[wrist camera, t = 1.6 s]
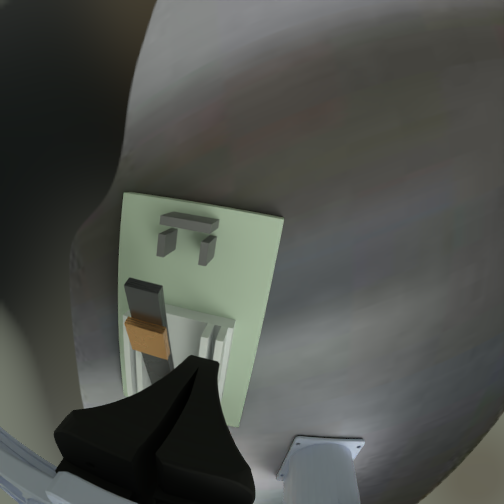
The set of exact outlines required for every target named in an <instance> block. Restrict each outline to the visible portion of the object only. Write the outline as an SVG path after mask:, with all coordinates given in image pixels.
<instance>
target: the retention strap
mask: <svg viewBox="0 0 504 504" xmlns="http://www.w3.org/2000/svg"><path fill="white" fill-rule="evenodd" d="M124 288H125V293H126V297H127V302H128V306H129V310H130V314H131V317H129V316H128V317H127V319H126V321H125V323H124V324H125V327H126V331H127V334H128V337H129V340H130V343H131V347H132V349H133V350H136V351H139V352H141V353H142V357H143V360H144V363H145V366H146V369H147V372H148V375H149V378H150V381H151V384H154V383H155V382H157V381H158V380H160V379H161V378H163V377H164V376H165V375H167V374H168V373H169V372H171V371H172V370H173V369H174V364H173V358H172V352H171V345H170V339H169V332H168V325H167V317H166V309H165V301H164V292H163V286H162V285H158V284H154V283H150V282H146V281H142V280H138V279H134V278H130V277H129V278H128V280H127V281H126V283H125V284H124Z"/></svg>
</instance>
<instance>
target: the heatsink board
mask: <svg viewBox="0 0 504 504" xmlns="http://www.w3.org/2000/svg"><path fill="white" fill-rule="evenodd" d="M283 222H284V217H279V216H273V215H268V214H263V213H258V212H252V211H247V210H241V209H235V208H230V207H224V206H218V205H212V204H206V203H200V202H194V201H188V200H182V199H175V198H169V197H162V196H156V195H149V194H142V193H135V192H126V193H124V195H123V204H122V215H121V227H120V242H119V264H118V324H119V345H120V360H121V372H122V382H123V391H124V396H127V397H129V396H131V395H134V394H136V393H138V392H140V391H142V390H144V389H145V388H147V387H149V386H150V385H152V384H151V381H150V378H149V375H148V372H147V369H146V366H145V363H144V360H143V357H142V353H141V352H139V351H136V350H133V349H132V347H131V343H130V340H129V337H128V334H127V331H126V327H125V324H124V323H125V321H126V319H127V317H128V316H129V317H131V314H130V310H129V306H128V302H127V297H126V293H125V288H124V284H125V283H126V281H127V280H128V278H129V277H130V278H134V279H138V280H142V281H146V282H150V283H154V284H158V285H162V286H163V292H164V301H165V309H166V317H167V325H168V332H169V339H170V345H171V352H172V358H173V364H174V369H175V368H176V367H177V366H178V365H179V364H180V363H182V362H183V361H184V360H185V359H186V358H187V357H188V356H190V355H194V356H198V357H202V358H206V359H210V360H214V361H218V362H219V364H220V365H219V371H218V390H219V398H220V403H221V407H222V411H223V415H224V418H225V421H226V424H227V425H228V426H233V427H238V428H239V424H240V419H241V415H242V411H243V407H244V403H245V399H246V394H247V390H248V386H249V382H250V377H251V373H252V369H253V364H254V360H255V355H256V351H257V346H258V342H259V337H260V333H261V328H262V324H263V319H264V315H265V310H266V305H267V301H268V296H269V291H270V286H271V282H272V277H273V272H274V267H275V262H276V257H277V252H278V247H279V242H280V237H281V232H282V227H283Z"/></svg>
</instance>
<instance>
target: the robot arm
mask: <svg viewBox="0 0 504 504" xmlns="http://www.w3.org/2000/svg"><path fill="white" fill-rule="evenodd" d="M219 365H220V364H219V362H218V361H214V360H210V359H206V358H202V357H198V356H194V355H190V356H188V357H187V358H186V359H185V360H184V361H183V362H182V363H180V364H179V365H178V366H177V367H176V368H175V369H173V370H172V371H171V372H169V373H168V374H167V375H165V376H164V377H163V378H161V379H160V380H158V381H157V382H155V383H154V384H152V385H150V386H149V387H147V388H145V389H144V390H142V391H140V392H138V393H136V394H134V395H131V396H129V397H127V398H124V399H122V400H119V401H116V402H113V403H110V404H106V405H102V406H98V407H93V408H87V409H79V410H73V411H72V412H71V413H70V414H69V415H67V417H66V418H65V419H64V420H63V421H62V422H61V424H60V425H59V426H58V427H57V429H56V430H55V431H54V438H55V441H56V444H57V446H58V448H59V450H60V452H61V454H62V456H63V460H62V461H61V463H60V464H59V466H58V467H56V466H55V465H53V464H51V463H50V462H48V461H47V460H45V459H44V458H42V457H41V456H39V455H37V454H36V453H35V452H33V451H32V450H30V449H29V448H27V447H26V446H24V445H23V444H22V443H20V442H19V441H18V440H16V439H15V438H14V437H12V436H11V435H10V434H9V433H7V432H6V431H5V430H4V429H2V428H1V427H0V488H1V489H2V490H4V491H5V492H6V493H7V494H8V495H9V496H11V497H12V498H13V499H14V500H15V501H17V502H18V503H19V504H253V502H254V500H255V485H254V480H253V476H252V473H251V469H250V467H249V465H248V464H247V463H246V461H245V460H244V458H243V456H242V455H241V453H240V452H239V450H238V448H237V446H236V444H235V442H234V440H233V438H232V436H231V434H230V432H229V429H228V427H227V424H226V421H225V418H224V415H223V411H222V407H221V403H220V398H219V390H218V371H219ZM364 444H365V441H364V440H363V439H332V438H317V437H305V436H297V437H296V438H295V439H294V441H293V443H292V445H291V448H290V450H289V452H288V454H287V456H286V458H285V460H284V462H283V464H282V466H281V468H280V470H279V472H278V474H277V476H276V479H277V480H279V481H284V488H283V504H361V503H360V497H359V491H358V485H357V480H356V474H355V468H354V463H353V460H354V458H355V457H356V456H357V454H358V453H359V451H360V450H361V448H362V447H363V446H364Z"/></svg>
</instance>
